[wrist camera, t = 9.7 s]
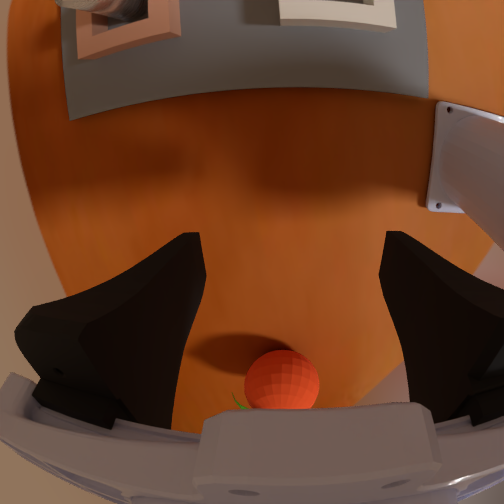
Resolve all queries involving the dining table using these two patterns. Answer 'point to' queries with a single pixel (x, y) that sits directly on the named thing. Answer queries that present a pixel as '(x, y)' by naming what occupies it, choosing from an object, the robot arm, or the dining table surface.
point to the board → (246, 56)
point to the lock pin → (109, 7)
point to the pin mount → (339, 14)
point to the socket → (126, 30)
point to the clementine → (281, 382)
